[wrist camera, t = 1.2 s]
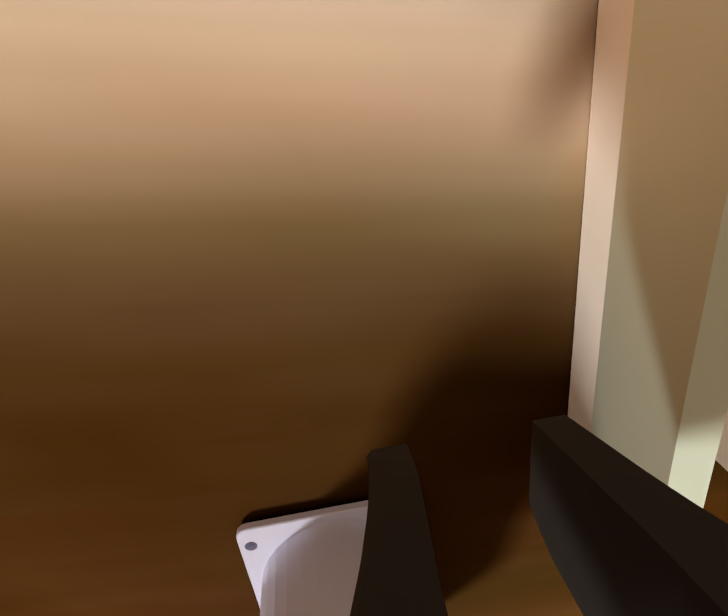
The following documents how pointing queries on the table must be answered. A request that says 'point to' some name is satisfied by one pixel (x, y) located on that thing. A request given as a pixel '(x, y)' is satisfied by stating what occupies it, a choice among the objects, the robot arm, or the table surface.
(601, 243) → the cable duct
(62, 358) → the table surface
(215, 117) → the table surface
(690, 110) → the duct lid
